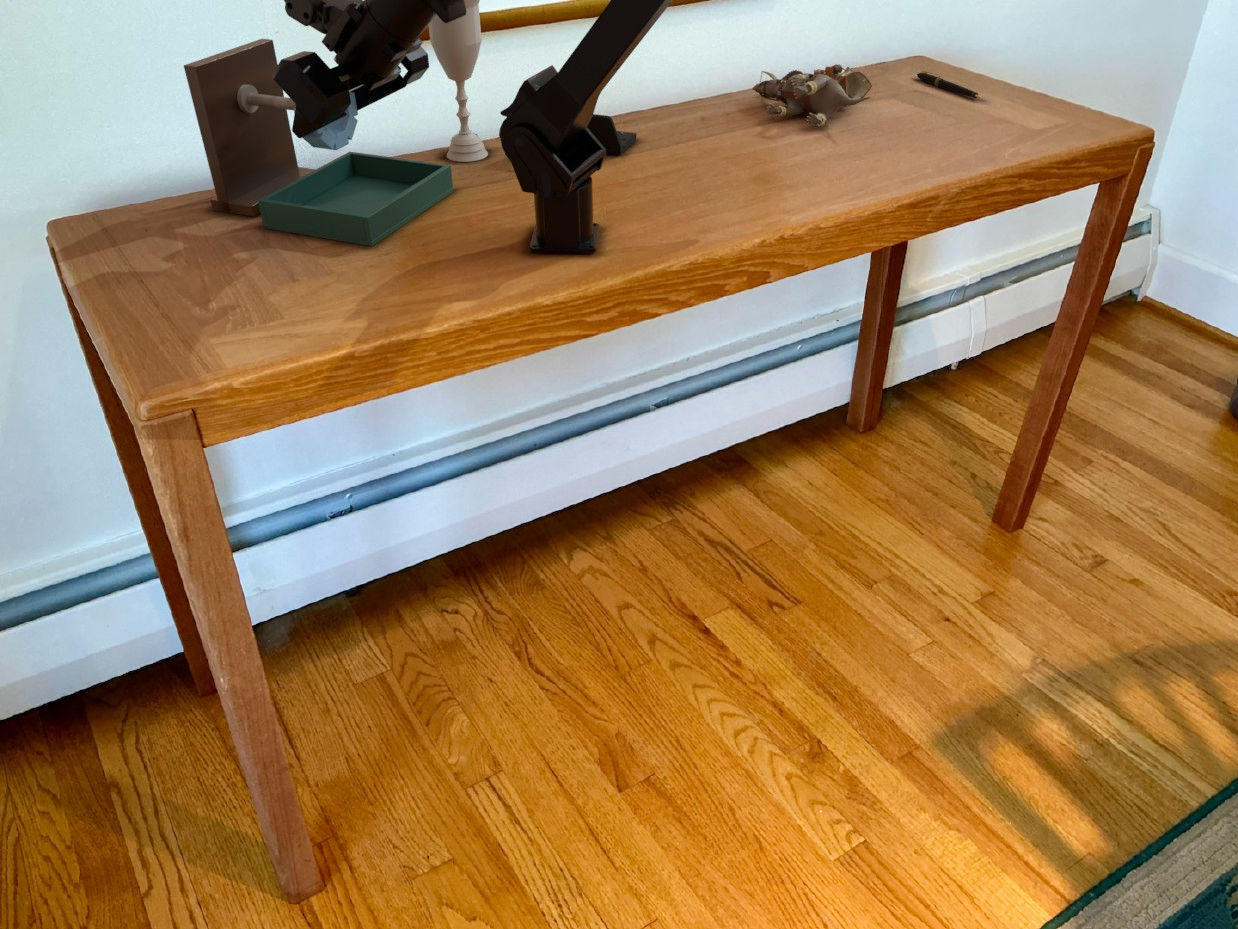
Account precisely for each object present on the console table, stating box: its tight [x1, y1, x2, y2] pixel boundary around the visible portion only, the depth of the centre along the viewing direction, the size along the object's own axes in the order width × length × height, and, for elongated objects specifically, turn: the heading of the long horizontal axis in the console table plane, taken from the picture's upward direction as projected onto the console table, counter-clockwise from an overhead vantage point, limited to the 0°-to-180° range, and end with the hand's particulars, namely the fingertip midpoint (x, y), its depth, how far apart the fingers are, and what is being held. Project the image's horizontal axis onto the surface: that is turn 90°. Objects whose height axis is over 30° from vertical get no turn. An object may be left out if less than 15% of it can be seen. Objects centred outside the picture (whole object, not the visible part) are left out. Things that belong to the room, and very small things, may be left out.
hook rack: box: [183, 38, 317, 218], centre depth 105 cm, size 11×12×15 cm
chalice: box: [428, 0, 489, 163], centre depth 115 cm, size 7×7×18 cm
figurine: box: [751, 63, 873, 127], centre depth 133 cm, size 20×6×17 cm
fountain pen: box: [916, 70, 984, 99], centre depth 142 cm, size 14×1×2 cm, turn 26°
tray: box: [258, 151, 454, 247], centre depth 106 cm, size 13×16×3 cm
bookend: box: [587, 113, 637, 156], centre depth 121 cm, size 12×7×10 cm
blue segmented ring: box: [293, 91, 359, 151], centre depth 101 cm, size 2×7×7 cm, turn 158°
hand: (318, 123), depth 103 cm, fingers closed on blue segmented ring, 7 cm apart
